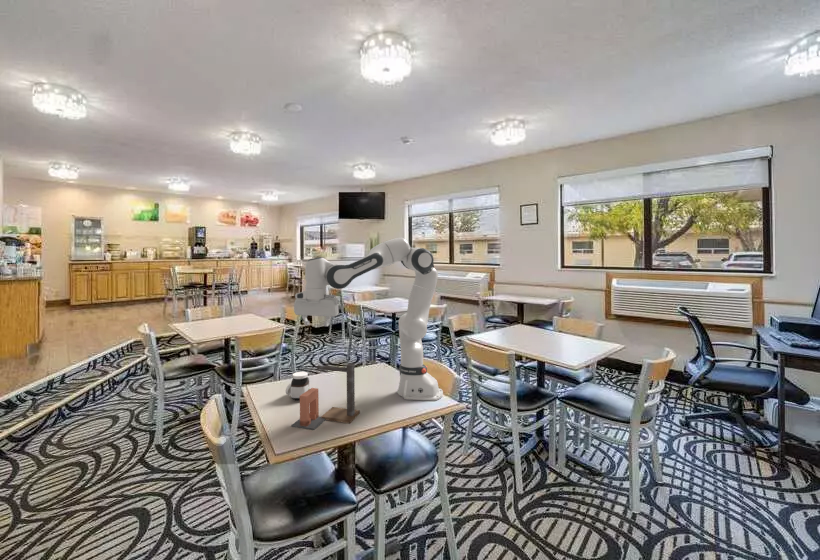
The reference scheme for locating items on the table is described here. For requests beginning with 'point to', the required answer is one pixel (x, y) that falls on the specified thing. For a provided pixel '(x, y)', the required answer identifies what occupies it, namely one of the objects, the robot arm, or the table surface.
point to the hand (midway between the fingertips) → (316, 325)
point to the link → (305, 399)
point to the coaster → (311, 426)
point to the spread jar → (298, 385)
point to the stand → (350, 412)
